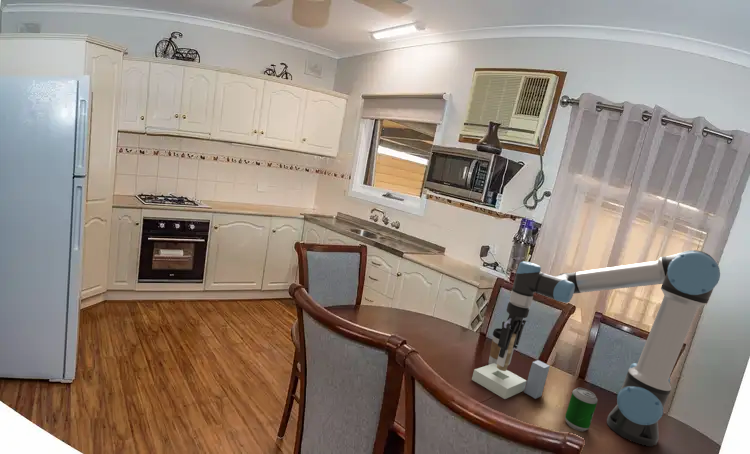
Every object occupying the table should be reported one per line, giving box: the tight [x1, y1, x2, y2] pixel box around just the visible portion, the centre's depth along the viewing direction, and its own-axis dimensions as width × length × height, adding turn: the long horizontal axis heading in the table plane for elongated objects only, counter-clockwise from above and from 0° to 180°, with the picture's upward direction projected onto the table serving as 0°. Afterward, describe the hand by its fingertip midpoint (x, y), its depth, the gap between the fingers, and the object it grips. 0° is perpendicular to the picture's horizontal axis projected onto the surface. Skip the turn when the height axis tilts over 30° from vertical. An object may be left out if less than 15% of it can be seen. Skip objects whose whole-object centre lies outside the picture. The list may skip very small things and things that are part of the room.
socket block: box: [471, 363, 528, 400], centre depth 161 cm, size 14×14×4 cm
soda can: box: [564, 387, 599, 432], centre depth 143 cm, size 8×8×12 cm
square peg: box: [523, 359, 551, 400], centre depth 159 cm, size 5×5×12 cm
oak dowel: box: [497, 333, 516, 371], centre depth 159 cm, size 4×4×14 cm
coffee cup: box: [488, 327, 502, 365], centre depth 177 cm, size 8×8×15 cm
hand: (503, 363), depth 160 cm, fingers closed on oak dowel, 3 cm apart
